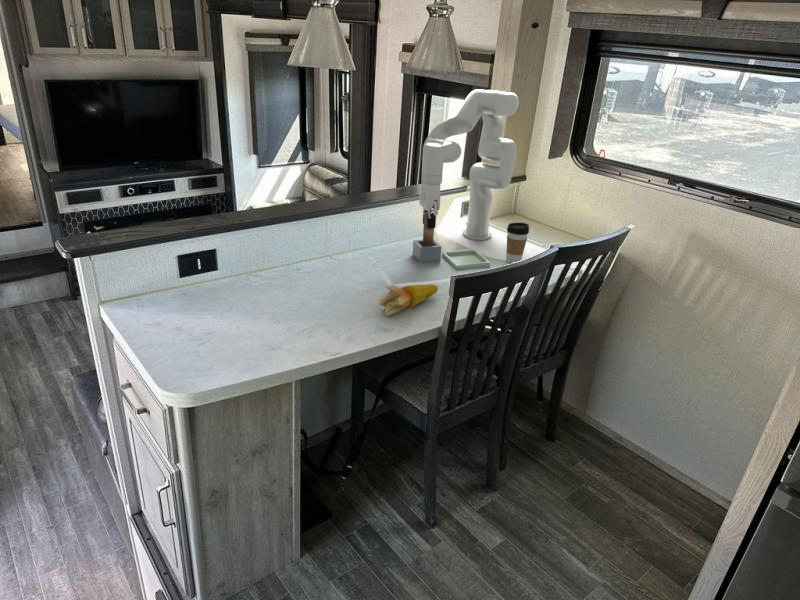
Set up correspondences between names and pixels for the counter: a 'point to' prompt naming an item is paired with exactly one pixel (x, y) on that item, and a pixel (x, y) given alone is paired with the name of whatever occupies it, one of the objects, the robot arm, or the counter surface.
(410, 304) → the corn cob
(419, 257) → the square cup
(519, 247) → the coffee cup
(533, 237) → the counter surface
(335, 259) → the counter surface
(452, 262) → the sage tray
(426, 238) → the walnut dowel
